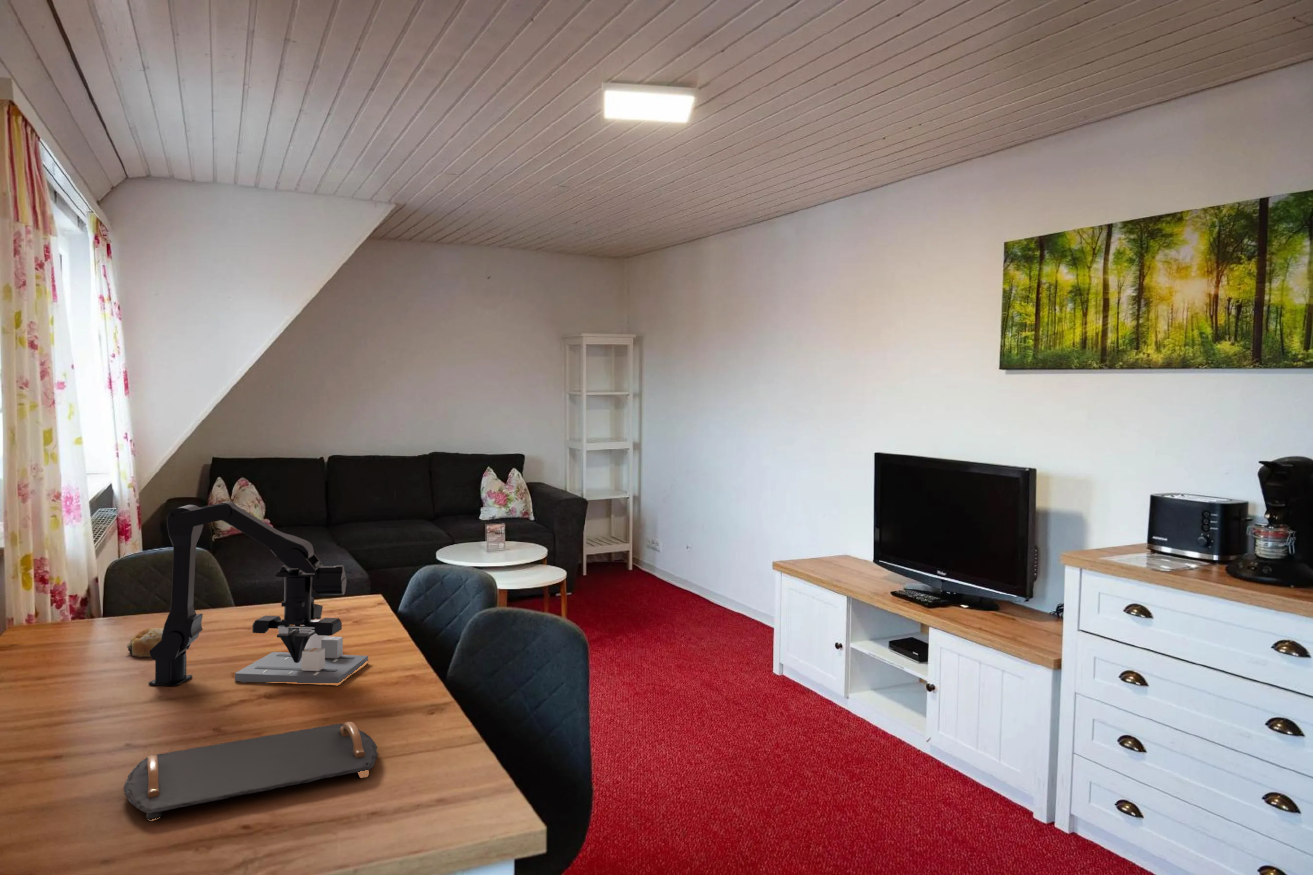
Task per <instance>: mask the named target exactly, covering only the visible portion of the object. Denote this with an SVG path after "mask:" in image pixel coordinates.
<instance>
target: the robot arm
mask: <svg viewBox="0 0 1313 875" xmlns="http://www.w3.org/2000/svg"><path fill="white" fill-rule="evenodd" d="M219 521H222V522H224V523H226V524H227V525H229V526H231V527H232V528H234V529H236V530H238V531H240V532H241V533H243V534H244V535H246V536H247V537H250V538H251V539H253V540H255V541H257V542H258V543H259V544H261V545H264V546H265V547H266V548H267V549H269V550H270V552H272V554H274V556H275V557H276V558H277V559H278V560H279V561H281V563H283V564H284V565H282V566H281V568H280V569H279V571H278V572H276V573H274V577H275V578H284V580H283V581H284V582H283V583H284V584H283V585H284V587H283V589H284V593H283V594H284V595H283V599H284V600H282V601H281V603H280V604H281V607H283V619H282V618H281V617H280V615H264V616H261V617H260V618H257V619H255V620H254V622H253V623H252V626H251V627H252V630H251V632H252V633H253V634H266V633H267V632H268V631H269V630H270V629H272V630H275V629H277V630H278V634H276V638H277V639H278V638H280V640H281V641H282V643H283V644H284V646H285V647H286V649H287V651H288V653H290V655H291V657H292V659H293V661H294V662H295V663H298V662H300V660H301V657H302V651H304V649H305V646H306V644H307V642H308V640H309V638H310V637H311V636H312V635H314V634H317V635H321V636H331V637H332V636H334V635H336V634H337V633H338V632H340V631H341V630H342V627H343V624H342V621H341V619H340V618H339V617H323V618H322V614H323V613H322V612H323V605H321V604H318V603H315V599H314V597H312V590H313V592H314V594H315V593H316V594H317V596H341V595H342V596H344V595H345V593H346V588H347V577H346V572H345V565H344V564H337V565H323V562H321V561H320V558H318V557H317V555H316V554H315V553H314V552H315V551H314V550H315V549H314V546H313V544H312V543H311V542H310V541H309V540H306V539H303V538H301V537H298V536H296V535H293V534H290V533H289V534H288V533H285V532H283V531H281V530H278V529H276V528H275V527H273V526H271V525H270V524H268V523H266V521H263V520H262V519H260V518H258V517H256V516H255V515H254V514H251V513H250V512H248V511H247V510H245V509H243V508H241V507H239V506H238V505H237V504H236V503H235V502H233V501H229V500H227V501H223V502H220V503H216V504H210V505H209V504H208V505H205V506H200V507H199V506H198V505H196V504H195V505H194V504H187V505H184V506H183V505H182V506H179V507H177V508H175V509H173V510H172V511H170V512H169V513H168V515H167V517H166V526H167V533H168V534H167V535H168V537H169V539H170V542H171V545H172V547H173V551H172V568H171V569H172V570H171V571H172V572H171V573H172V575H171V593H170V594H171V595H170V596H171V597H170V608H169V612H168V615H167V617H166V619H165V622H164V626H163V628H164V629H163V633H162V637H161V641H160V642H159V643H158V644H157V645H156V646H154V647H153V648H152V649H151V650H150V651H149V653H150V655H151V657H150V658H151V660H152V661H154V662H155V663H154V665H155V666H154V667H155V668H154V670H155V672H154V673H155V674H154V678H155V679H152V680H151V681H149V682H148V686H149V685H150V686H166V687H167V686H168V687H172V686H173V687H176V686H178V685H181V684H183V683H184V682H186V681H188V680H190V679H192V678H193V674H187V650H189V649H190V647H191V646H192V645H191V644H192V643H194V642H195V640H197V639H198V638H199V635H200V633H201V632H202V631H203V630H204V629H203V626H202V625H203V624H202V621H203V617H204V614H203V613H196V612H197V611H196V610H195V607H194V597H195V596H194V594H195V576H196V557H197V556H196V555H197V543H198V541H199V539H200V536H201V535H202V532H203V528H204V525H208V524H210V523H214V522H219ZM311 620H320V621H318V622H311ZM302 625H304V626H302Z"/></svg>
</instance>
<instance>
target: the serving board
mask: <svg viewBox="0 0 1313 875" xmlns="http://www.w3.org/2000/svg"><path fill="white" fill-rule="evenodd" d="M377 749H378V746H377V743H376V742H375V741H374V740H373V738H372V737H371V736H370V735H368V734H367V733H366V732H365V731H362V730H360V729H359V728H358V726H357V725H356V724H355V723H354V722H352V721H346V722H344V723H336V724H335V723H334V724H329V725H323V726H317V727H313V728H312V727H311V728H307V729H305V728H304V729H299V730H294V731H292V730H291V731H288V732H284V733H276V734H275V733H274V734H267V735H264V736H258V737H252V738H246V739H240V740H234V741H228V742H223V743H217V744H211V745H205V746H197V747H192V748H187V749H183V750H174V751H170V752H169V751H168V752H164V753H157V754H151V755H148V756H147V757H146V758H144V759H142V760H140V762H139V763H138V764H136V765H135V767H134V768H132V769H131V772H129V774H128V775H127V779H126V781H125V783H124V785H123V791H124V795H125V796H126V798H127V801H128V802H129V804H131V805H132V806H134V808H135V809H138V810H139V811H141V812H144V813H146V815H145V819H146V818H147V819H149V820H152V819H155V818H156V819H157V818H159V817H161V816H163V812H166V811H170V810H174V809H175V810H176V809H179V808H184V807H190V806H194V805H200V804H204V803H206V804H207V803H211V802H217V801H222V800H226V799H229V798H233V797H239V796H243V795H250V794H255V793H256V794H257V793H262V792H267V791H270V790H272V791H273V790H275V789H276V790H277V789H279V788H285V787H290V786H294V785H295V786H296V785H300V784H308V783H312V782H316V781H319V780H323V779H330V778H333V777H339V776H344V775H348V774H355V773H357V772H360V771H365V770H371V769H373V767H374V766H375V764H376V763H375V762H376V760H377V758H378V750H377ZM161 818H162V817H161ZM147 819H146V820H147Z"/></svg>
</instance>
